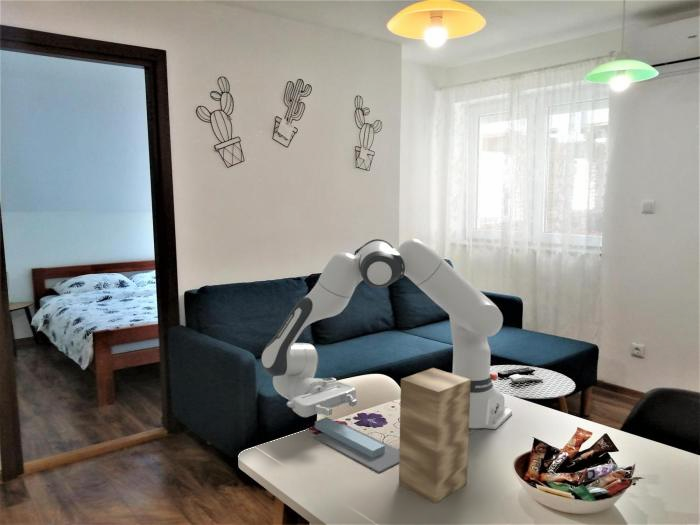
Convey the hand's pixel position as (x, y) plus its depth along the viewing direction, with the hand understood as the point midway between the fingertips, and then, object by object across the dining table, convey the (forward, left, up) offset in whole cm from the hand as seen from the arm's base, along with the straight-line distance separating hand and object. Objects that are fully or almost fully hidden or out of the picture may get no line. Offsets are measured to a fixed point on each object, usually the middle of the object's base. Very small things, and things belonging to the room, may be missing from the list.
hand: (342, 407), depth 151 cm
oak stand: (0, +32, -9) cm, 33 cm away
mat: (0, +7, -9) cm, 11 cm away
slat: (0, +2, -9) cm, 9 cm away
